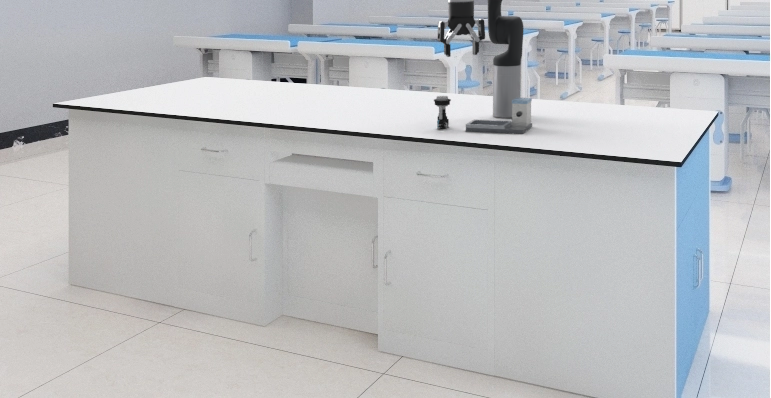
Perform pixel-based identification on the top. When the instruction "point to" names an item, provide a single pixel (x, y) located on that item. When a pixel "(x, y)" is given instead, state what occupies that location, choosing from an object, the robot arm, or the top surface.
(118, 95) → the top surface
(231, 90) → the top surface
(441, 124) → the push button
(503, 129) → the base
